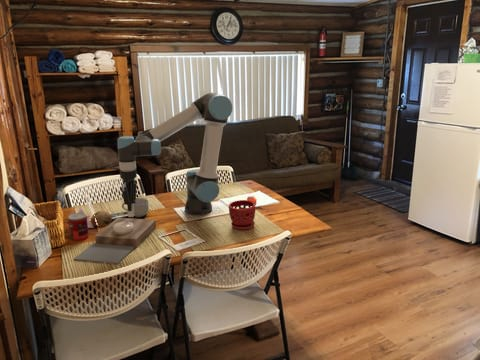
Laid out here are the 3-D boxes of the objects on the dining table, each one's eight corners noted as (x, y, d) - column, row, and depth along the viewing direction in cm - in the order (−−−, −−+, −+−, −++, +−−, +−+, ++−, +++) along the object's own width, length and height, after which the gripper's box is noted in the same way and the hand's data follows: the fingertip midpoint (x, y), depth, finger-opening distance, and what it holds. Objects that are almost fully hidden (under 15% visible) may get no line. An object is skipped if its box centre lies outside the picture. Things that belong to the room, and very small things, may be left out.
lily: (68, 238, 186) (75, 222, 183) (61, 222, 193) (68, 206, 190) (92, 237, 195) (99, 223, 192) (85, 222, 202) (91, 208, 199)
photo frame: (177, 249, 170) (158, 236, 184) (177, 252, 170) (158, 238, 184) (205, 240, 179) (185, 228, 192) (205, 243, 179) (185, 230, 193)
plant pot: (242, 219, 205) (242, 197, 201) (260, 226, 196) (260, 203, 192) (223, 226, 196) (223, 204, 192) (242, 234, 187) (242, 210, 183)
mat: (134, 247, 174) (134, 246, 174) (118, 264, 160) (118, 262, 159) (93, 244, 177) (93, 243, 177) (74, 260, 163) (73, 258, 163)
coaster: (136, 227, 186) (136, 222, 185) (128, 235, 177) (127, 229, 176) (119, 225, 187) (118, 220, 186) (110, 233, 179) (109, 228, 178)
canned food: (73, 234, 188) (71, 213, 184) (91, 233, 188) (88, 212, 185) (68, 241, 180) (65, 219, 177) (86, 240, 181) (83, 218, 178)
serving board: (156, 227, 195) (155, 220, 194) (137, 247, 174) (136, 239, 173) (118, 224, 198) (118, 217, 197) (95, 243, 178) (94, 235, 176)
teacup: (152, 211, 215) (151, 198, 213) (145, 219, 205) (144, 205, 203) (127, 211, 217) (126, 197, 214) (119, 218, 206) (118, 204, 204)
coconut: (98, 234, 196) (101, 222, 193) (85, 222, 200) (88, 210, 196) (113, 227, 204) (117, 215, 201) (101, 216, 208) (104, 204, 204)
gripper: (126, 165, 190) (130, 211, 197) (113, 172, 178) (117, 220, 185) (141, 166, 189) (144, 212, 196) (129, 173, 177) (132, 222, 183)
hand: (131, 216), depth 190 cm, fingers closed
